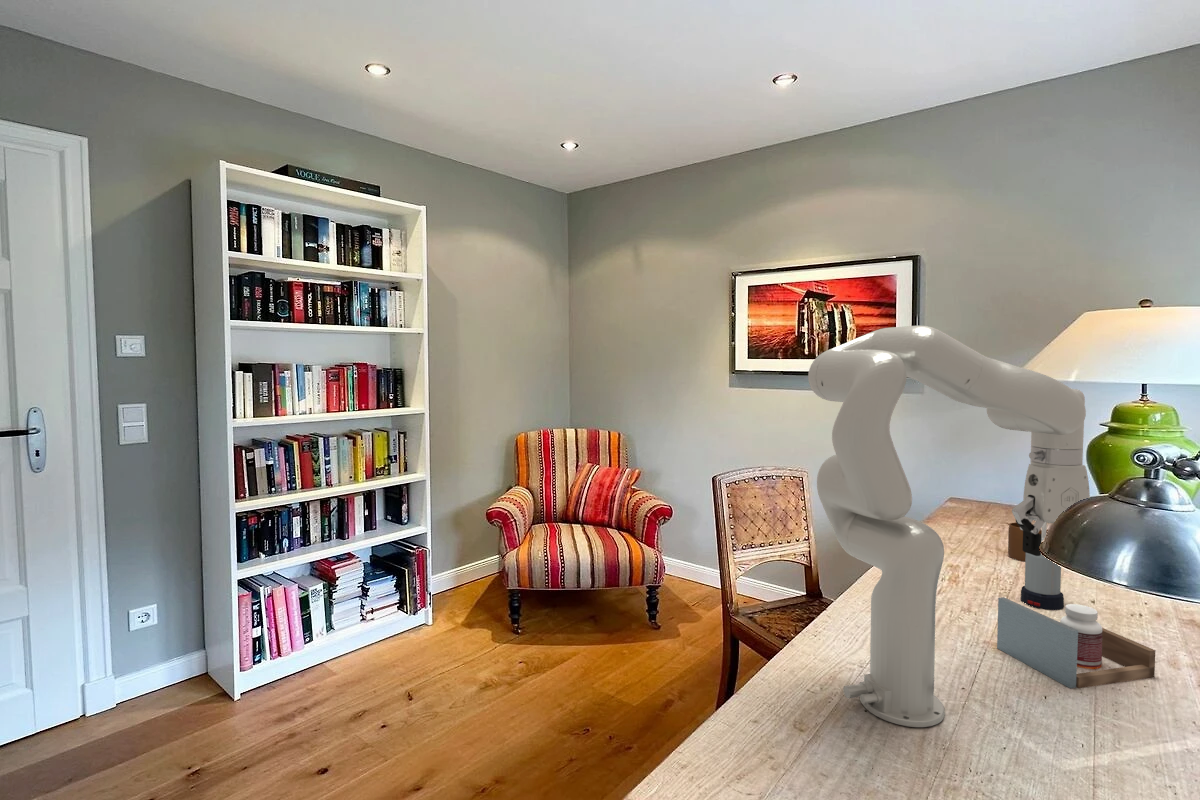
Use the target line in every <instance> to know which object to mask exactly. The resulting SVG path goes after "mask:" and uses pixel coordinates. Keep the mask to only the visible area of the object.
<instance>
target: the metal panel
mask: <svg viewBox="0 0 1200 800" xmlns="http://www.w3.org/2000/svg"><path fill="white" fill-rule="evenodd" d="M997 602H998V603H997V605H998V606H997V634H996V635H997V636H996V637H997V641H996V649H997V650H999V651H1002V652H1003V653H1005V654H1006V655H1009V656H1010V657H1012V658H1014V659H1016V660H1018V661H1019V662H1021V663H1023V664H1025V665H1027V666H1028V667H1030V668H1032V669H1034V670H1036V671H1037V672H1040V673H1041V674H1043V675H1045V676H1047V677H1048V678H1050V679H1052V680H1054V681H1056V682H1058V683H1060V684H1061V685H1063V686H1064V687H1067V688H1069V689H1076V688H1077V687H1076V677H1077V674H1078V673H1077V671H1078V667H1077V649H1078V630H1076V629H1074V628H1072V627H1069V626H1067V625H1065V624H1063V623H1060V621H1058V620H1055V619H1054V618H1051V617H1048V616H1047V615H1044V614H1042V613H1040V612H1038V611H1035V610H1034V609H1031V608H1029V607H1026V606H1024V605H1022V604H1020V603H1018V602H1015V601H1013V600H1012V599H1008V598H1006V597H1004V596H1003V597H998V601H997Z"/></svg>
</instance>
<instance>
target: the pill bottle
mask: <svg viewBox="0 0 1200 800" xmlns="http://www.w3.org/2000/svg"><path fill="white" fill-rule="evenodd" d="M1064 607H1065V609H1064V613H1065V616H1062V617H1061V618H1060V620H1059V622H1060V623H1063V624H1065V625H1067V626H1069V627H1072V628H1074V629H1076V630H1078V649H1077V668H1081V669H1086V670H1098V669H1101V668H1102V665H1103V663H1102V662H1103V660H1102V659H1103V656H1102V628H1103V627H1102V625H1101V624H1100V623H1099V622H1098V621H1097V620H1098V611H1097V609H1095V608H1094V607H1090V606H1088V605H1084V604H1077V603H1069V604H1066V605H1065V606H1064Z"/></svg>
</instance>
